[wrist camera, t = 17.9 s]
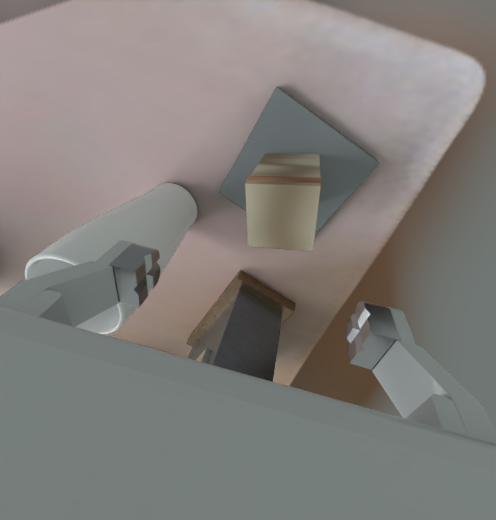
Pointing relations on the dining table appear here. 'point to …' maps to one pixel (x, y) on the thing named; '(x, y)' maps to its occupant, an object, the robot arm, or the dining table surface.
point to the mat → (301, 142)
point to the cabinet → (242, 328)
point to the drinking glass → (114, 230)
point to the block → (283, 201)
